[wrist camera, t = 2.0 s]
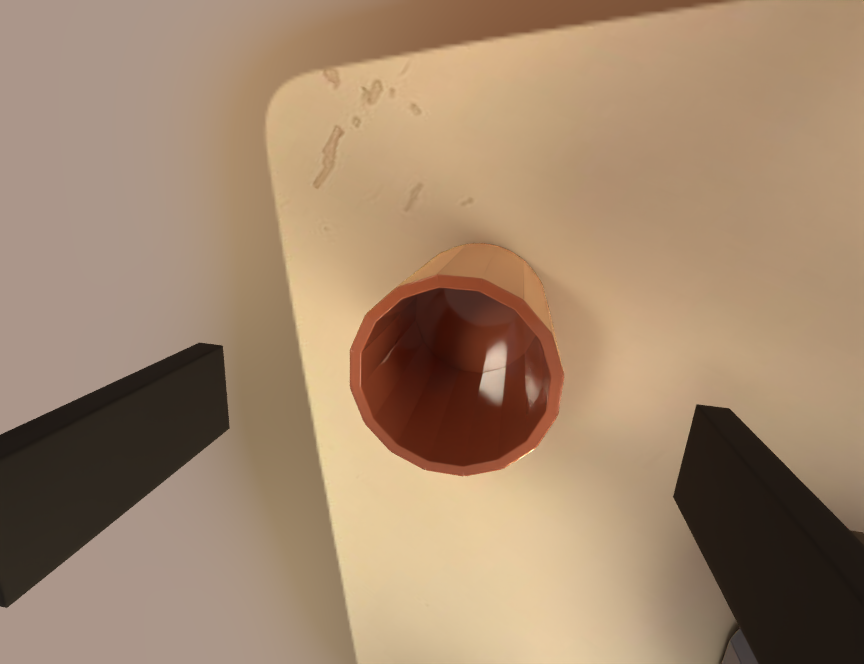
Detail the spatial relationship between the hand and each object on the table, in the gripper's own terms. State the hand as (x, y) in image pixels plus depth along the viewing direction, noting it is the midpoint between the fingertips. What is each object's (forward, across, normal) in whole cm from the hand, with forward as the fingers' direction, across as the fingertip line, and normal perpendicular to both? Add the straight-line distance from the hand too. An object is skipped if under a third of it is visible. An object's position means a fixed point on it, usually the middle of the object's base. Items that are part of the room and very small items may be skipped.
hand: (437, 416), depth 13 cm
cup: (+11, 0, 0) cm, 11 cm away
